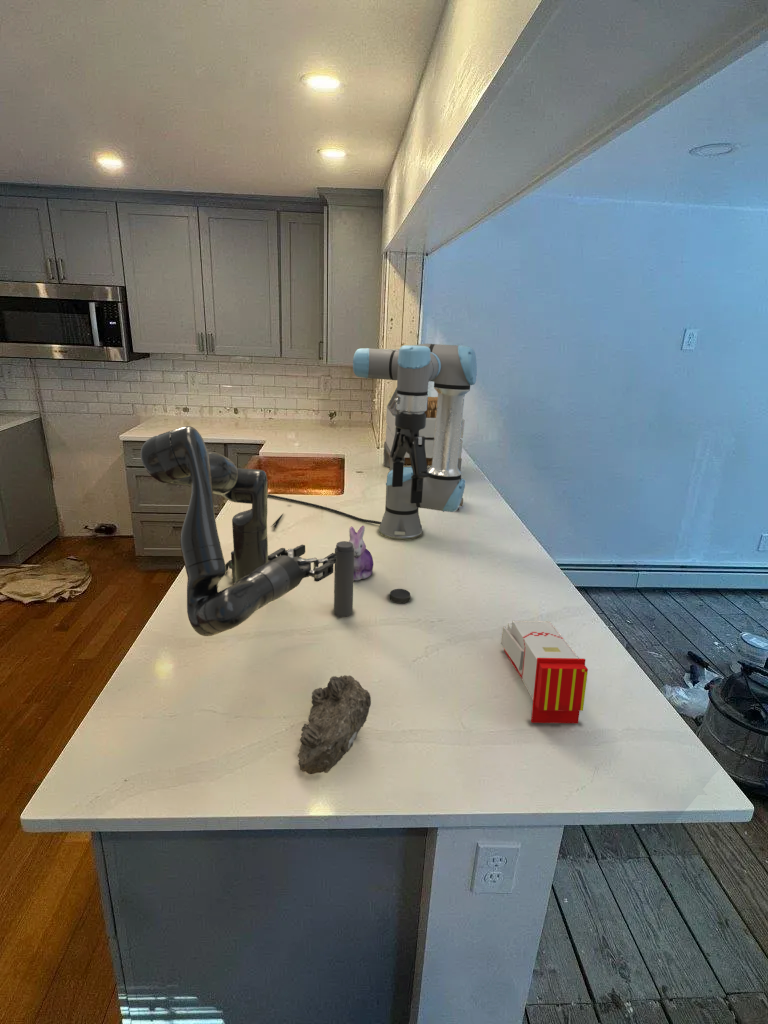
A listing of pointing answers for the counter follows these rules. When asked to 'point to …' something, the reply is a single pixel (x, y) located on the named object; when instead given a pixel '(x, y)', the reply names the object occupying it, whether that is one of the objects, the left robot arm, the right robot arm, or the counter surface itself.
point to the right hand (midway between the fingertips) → (406, 494)
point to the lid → (400, 596)
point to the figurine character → (461, 503)
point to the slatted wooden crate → (426, 432)
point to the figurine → (360, 555)
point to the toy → (547, 670)
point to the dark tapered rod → (277, 521)
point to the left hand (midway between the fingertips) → (319, 552)
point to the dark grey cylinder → (343, 579)
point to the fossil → (333, 723)
